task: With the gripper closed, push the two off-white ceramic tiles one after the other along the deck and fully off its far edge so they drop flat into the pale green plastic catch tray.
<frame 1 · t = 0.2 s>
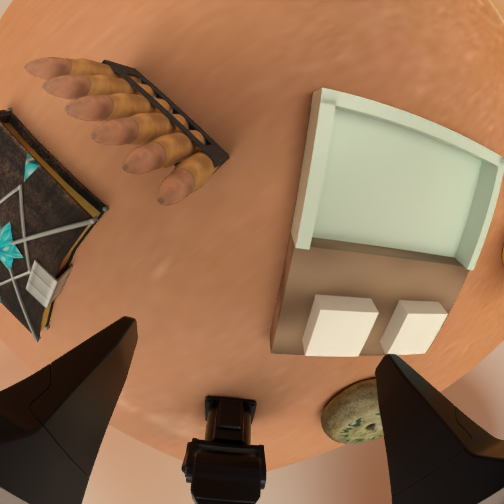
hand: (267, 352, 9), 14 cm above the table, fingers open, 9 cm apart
tile b: (409, 322, 23), point 2 cm above the table, touching deck
deck: (371, 297, 25), on the table
catch tray: (405, 185, 20), on the table
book: (23, 230, 23), on the table
tile a: (336, 320, 23), point 2 cm above the table, touching deck
ammunition clip: (171, 117, 19), on the table
weight: (364, 400, 34), on the table
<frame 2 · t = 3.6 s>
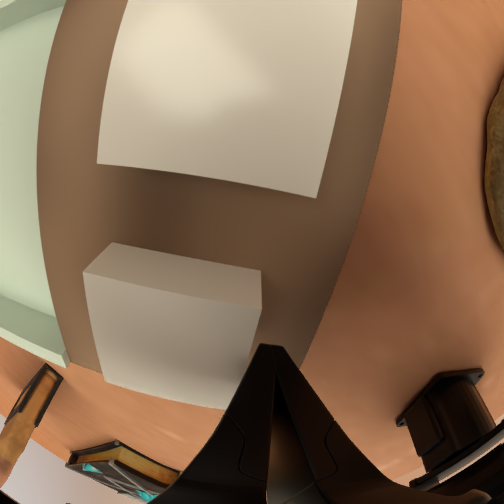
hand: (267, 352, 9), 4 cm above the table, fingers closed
tile b: (229, 76, 6), point 2 cm above the table, touching deck
deck: (190, 189, 10), on the table
catch tray: (1, 169, 10), on the table
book: (160, 476, 27), on the table
tile a: (177, 317, 10), point 3 cm above the table, touching gripper
ammunition clip: (40, 384, 18), on the table
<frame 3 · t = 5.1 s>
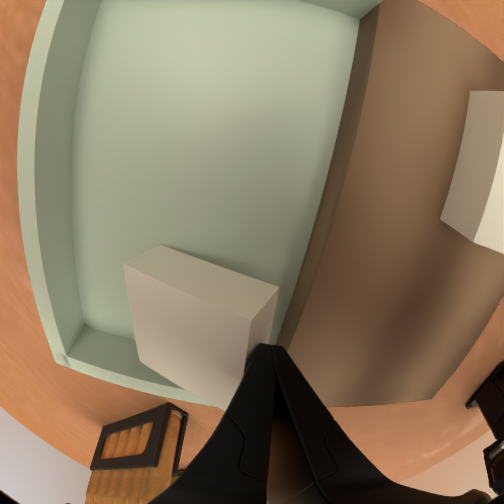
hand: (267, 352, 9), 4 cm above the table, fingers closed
tile b: (496, 176, 7), point 2 cm above the table, touching deck
deck: (421, 237, 11), on the table
catch tray: (173, 185, 10), on the table
tile a: (210, 319, 11), point 2 cm above the table, tilted 26°, touching gripper
ammunition clip: (139, 420, 18), on the table
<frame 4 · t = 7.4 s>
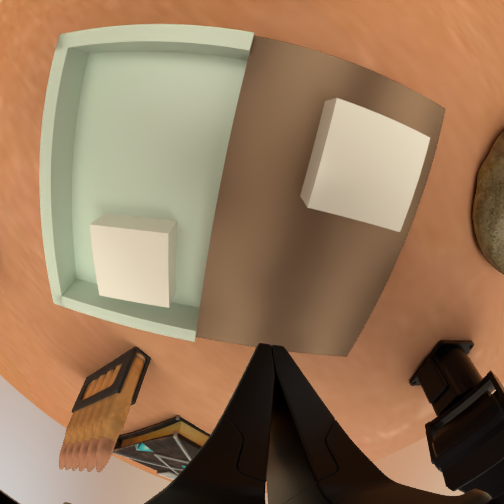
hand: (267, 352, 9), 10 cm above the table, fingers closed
tile b: (358, 162, 13), point 2 cm above the table, touching deck
deck: (310, 214, 17), on the table
catch tray: (134, 179, 16), on the table
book: (201, 452, 33), on the table
tile a: (140, 252, 17), point 1 cm above the table, touching catch tray
ammunition clip: (115, 368, 24), on the table
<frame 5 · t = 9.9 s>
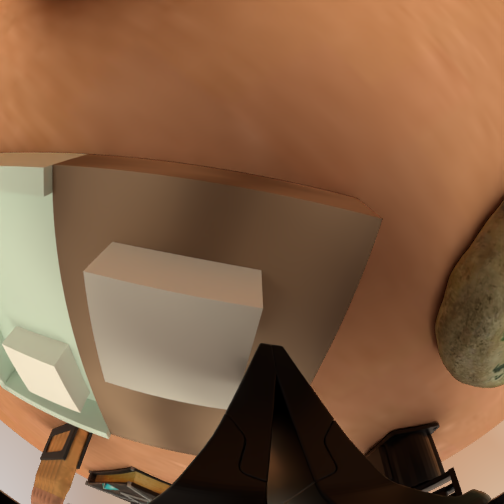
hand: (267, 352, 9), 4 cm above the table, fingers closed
tile b: (178, 316, 10), point 3 cm above the table, touching gripper
deck: (194, 347, 14), on the table
catch tray: (28, 300, 13), on the table
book: (167, 490, 30), on the table
tile a: (51, 361, 14), point 1 cm above the table, touching catch tray
ammunition clip: (71, 427, 21), on the table
weight: (503, 278, 13), on the table
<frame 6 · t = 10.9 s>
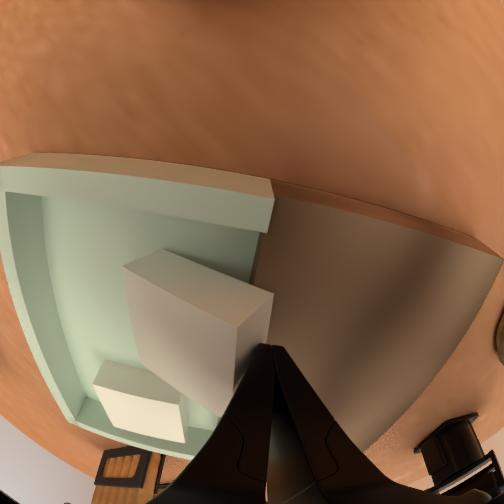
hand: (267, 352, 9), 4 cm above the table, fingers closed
tile b: (209, 324, 11), point 2 cm above the table, tilted 31°, touching gripper
deck: (330, 364, 14), on the table
catch tray: (131, 332, 14), on the table
tile a: (148, 393, 15), point 1 cm above the table, touching catch tray
ammunition clip: (132, 449, 22), on the table
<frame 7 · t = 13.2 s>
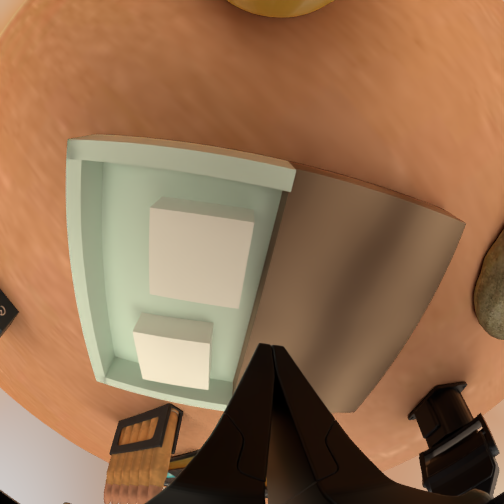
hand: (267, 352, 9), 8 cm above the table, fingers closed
tile b: (202, 245, 16), point 1 cm above the table, touching catch tray
deck: (331, 312, 19), on the table
catch tray: (169, 285, 18), on the table
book: (217, 474, 35), on the table
tile a: (177, 343, 19), point 1 cm above the table, touching catch tray
ammunition clip: (148, 416, 26), on the table
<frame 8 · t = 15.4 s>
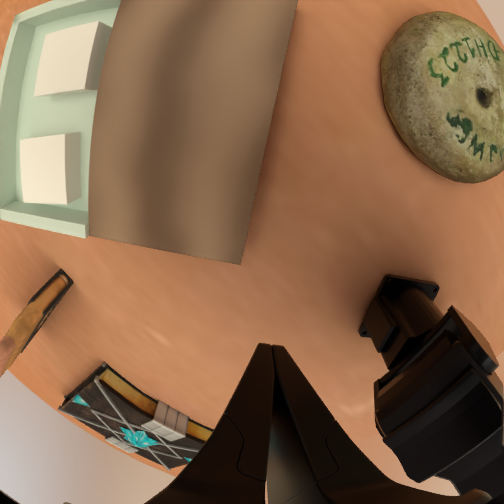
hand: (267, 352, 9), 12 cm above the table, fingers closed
tile b: (77, 62, 14), point 1 cm above the table, touching catch tray
deck: (185, 110, 16), on the table
catch tray: (57, 107, 16), on the table
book: (144, 418, 33), on the table
tile a: (56, 165, 17), point 1 cm above the table, touching catch tray
ammunition clip: (50, 299, 24), on the table
weight: (446, 95, 15), on the table
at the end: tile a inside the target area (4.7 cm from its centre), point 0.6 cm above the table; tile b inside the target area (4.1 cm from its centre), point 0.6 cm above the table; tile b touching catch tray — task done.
